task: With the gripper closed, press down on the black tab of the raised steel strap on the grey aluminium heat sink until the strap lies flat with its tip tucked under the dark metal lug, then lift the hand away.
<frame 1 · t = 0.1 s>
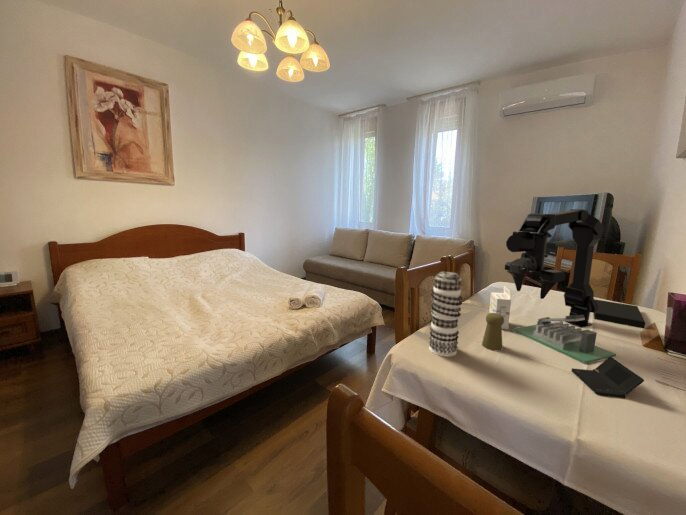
hand: (529, 294, 101), 15 cm above the table, tool pointing down, fingers open, 9 cm apart
retention strap: (560, 318, 97), point 8 cm above the table, hinge at 22.0°
circuit board: (559, 342, 97), on the table
cork: (492, 346, 94), on the table
heat sink: (564, 332, 96), on the circuit board, point 4 cm above the table
decorative candle: (442, 350, 92), on the table
handheld gaming console: (602, 385, 74), on the table
external hard drive: (615, 316, 122), on the table
ink cartridge box: (497, 325, 111), on the table
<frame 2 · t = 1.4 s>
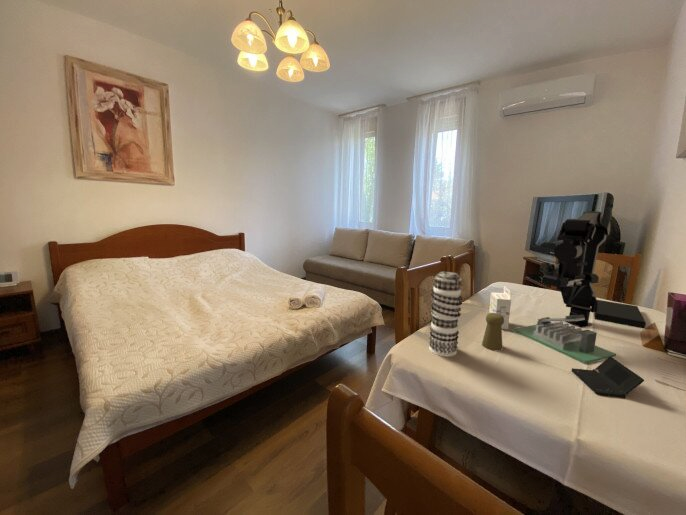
hand: (566, 303, 96), 13 cm above the table, tool pointing down, fingers closed
nothing on the table moved.
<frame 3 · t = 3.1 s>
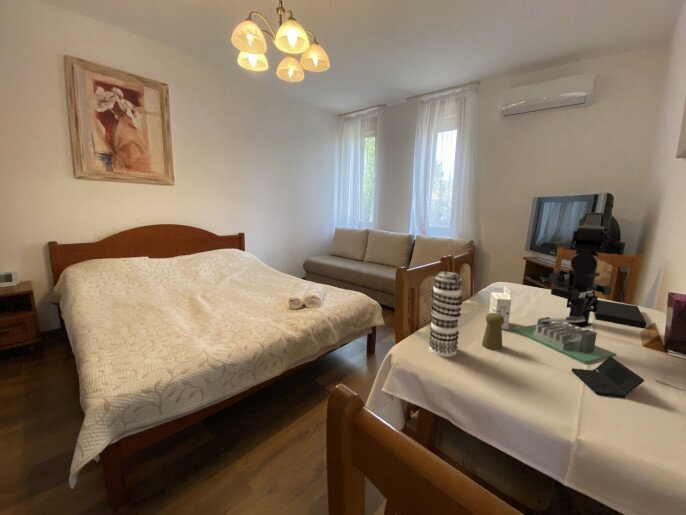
hand: (577, 316, 91), 11 cm above the table, tool pointing down, fingers closed, pressing on retention strap
retention strap: (560, 318, 96), point 8 cm above the table, hinge at 20.0°, touching gripper
everything else where it was.
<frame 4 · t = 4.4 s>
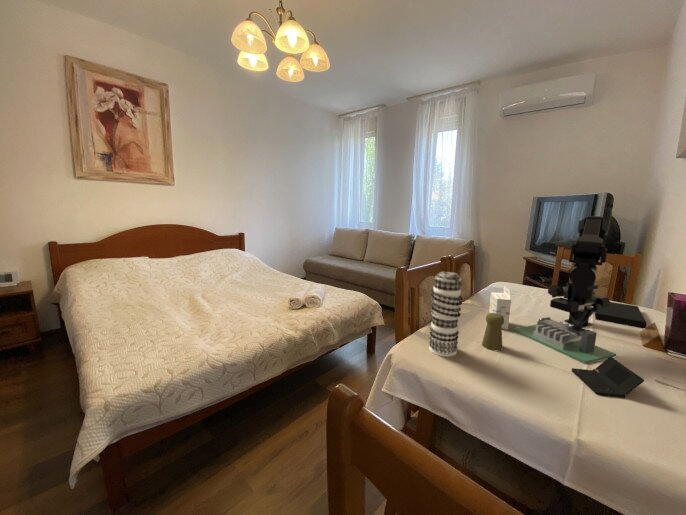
hand: (576, 328, 92), 7 cm above the table, tool pointing down, fingers closed, pressing on retention strap
retention strap: (561, 325, 96), point 6 cm above the table, hinge at -0.4°, touching gripper
everything else where it was.
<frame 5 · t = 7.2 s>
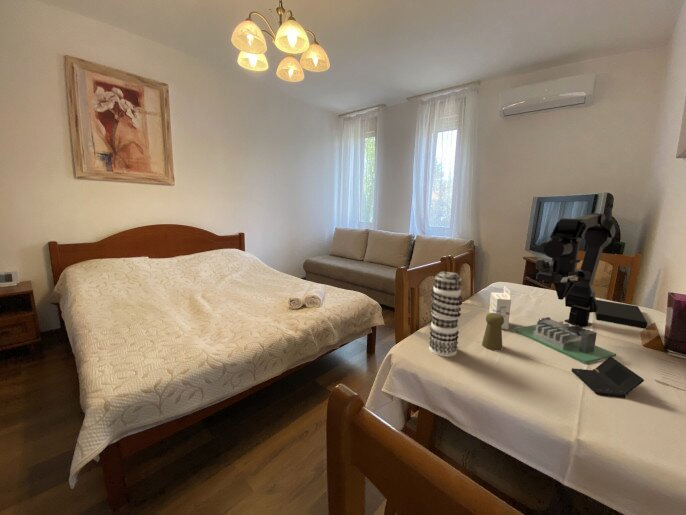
hand: (560, 299, 101), 13 cm above the table, tool pointing down, fingers closed
retention strap: (561, 325, 96), point 6 cm above the table, hinge at -0.4°
everything else where it was.
at the end: retention strap at +0° (first picture: +22°); ink cartridge box moved 0.2 cm from its start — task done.
